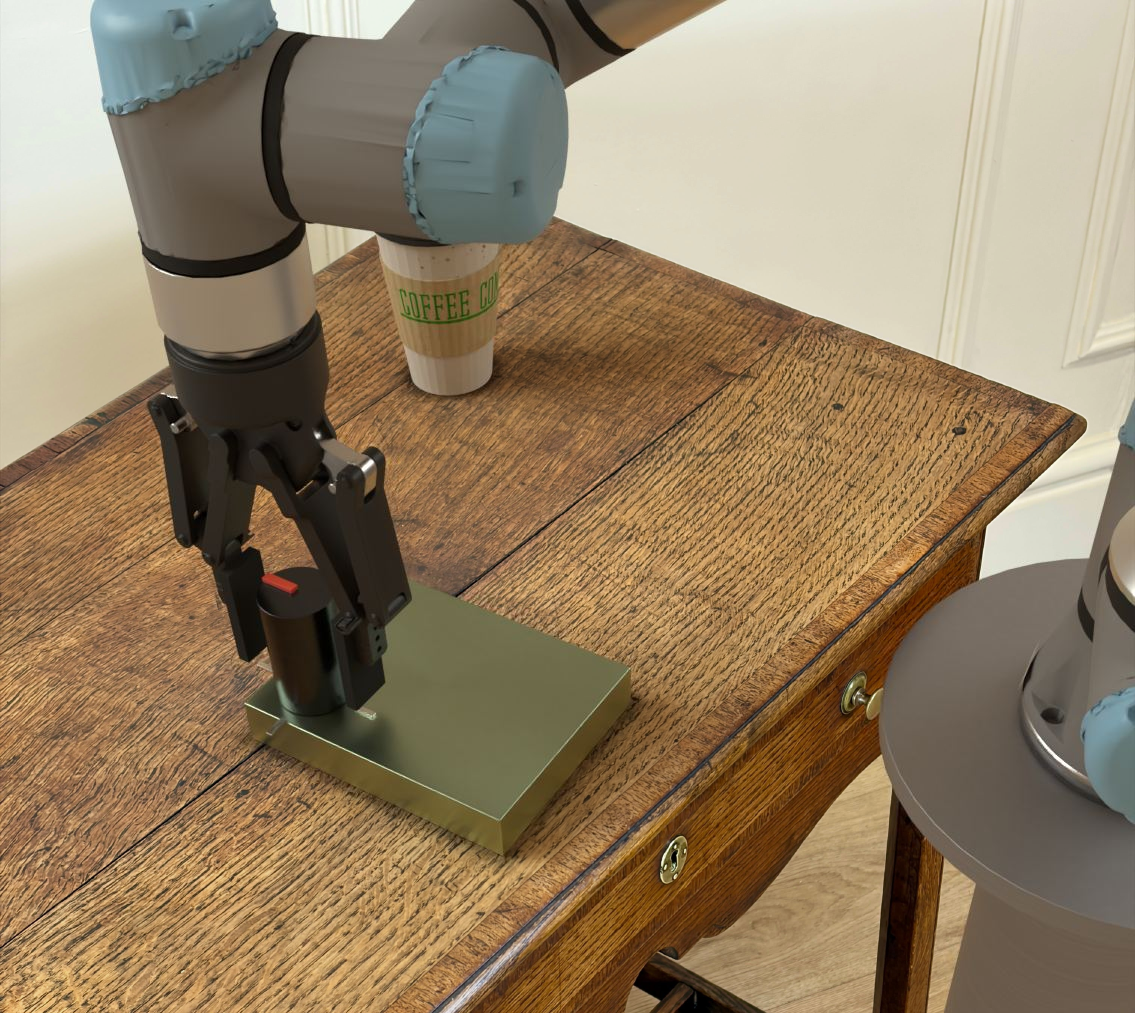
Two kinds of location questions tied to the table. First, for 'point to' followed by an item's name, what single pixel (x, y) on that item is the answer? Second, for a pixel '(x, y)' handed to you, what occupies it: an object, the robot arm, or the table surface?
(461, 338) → the coffee cup
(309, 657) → the knob
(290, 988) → the table surface
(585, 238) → the table surface
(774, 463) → the table surface
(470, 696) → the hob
